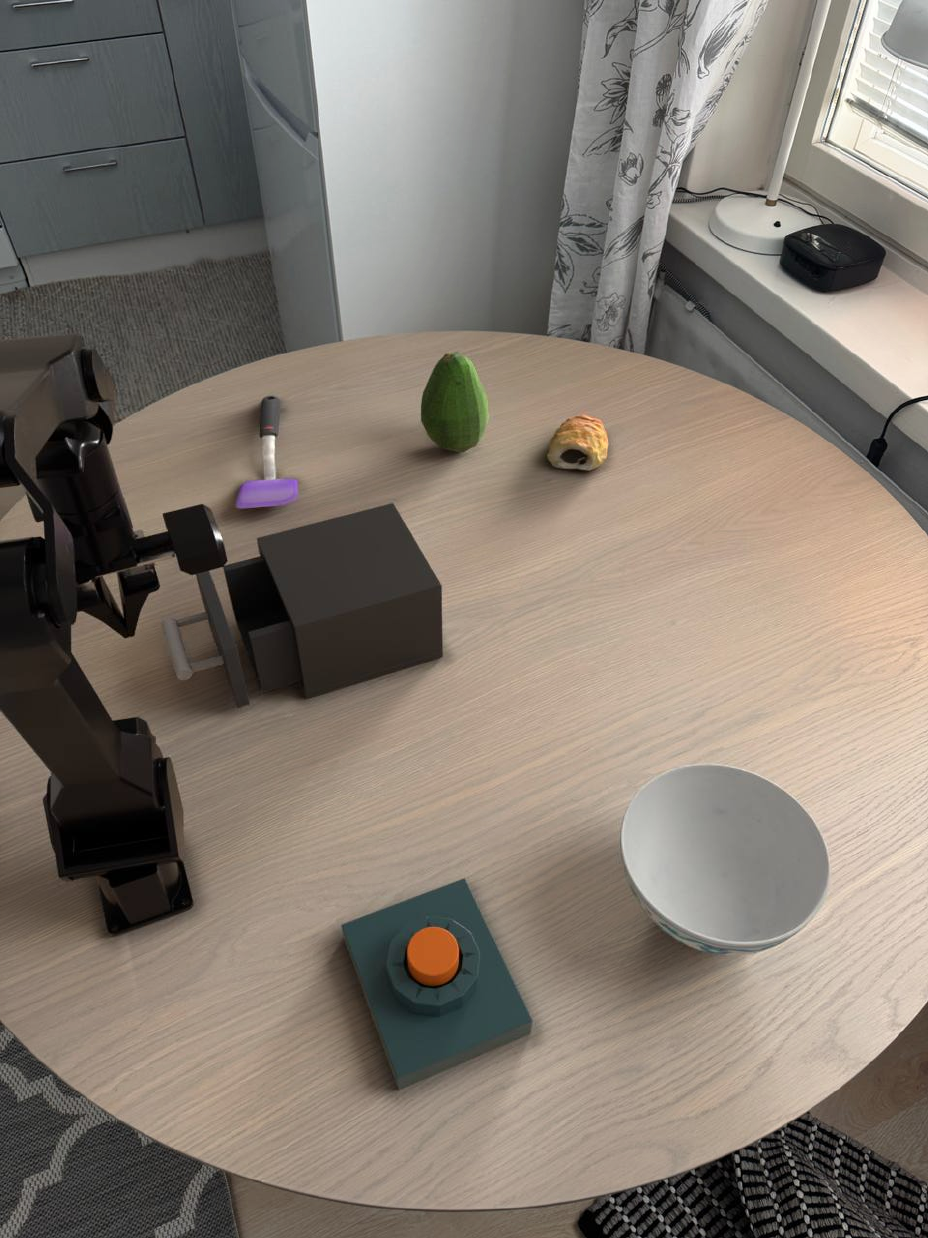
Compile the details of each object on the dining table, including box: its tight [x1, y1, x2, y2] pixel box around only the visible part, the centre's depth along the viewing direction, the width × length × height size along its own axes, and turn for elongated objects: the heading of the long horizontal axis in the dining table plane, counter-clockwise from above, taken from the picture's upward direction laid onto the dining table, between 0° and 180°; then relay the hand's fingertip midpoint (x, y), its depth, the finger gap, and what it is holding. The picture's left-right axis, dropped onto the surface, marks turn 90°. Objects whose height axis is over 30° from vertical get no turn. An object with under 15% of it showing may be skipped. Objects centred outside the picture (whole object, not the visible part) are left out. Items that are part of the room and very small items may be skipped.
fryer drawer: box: [160, 555, 302, 709], centre depth 92 cm, size 17×11×8 cm
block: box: [341, 877, 533, 1091], centre depth 71 cm, size 12×10×4 cm
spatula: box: [234, 395, 299, 510], centre depth 117 cm, size 24×7×2 cm, turn 6°
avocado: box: [420, 351, 490, 453], centre depth 115 cm, size 8×8×12 cm
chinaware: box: [619, 763, 832, 956], centre depth 75 cm, size 15×15×8 cm
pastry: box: [546, 414, 610, 471], centre depth 118 cm, size 9×7×4 cm
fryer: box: [256, 502, 444, 700], centre depth 94 cm, size 14×13×10 cm
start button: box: [407, 927, 459, 986], centre depth 70 cm, size 4×4×2 cm
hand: (128, 634), depth 86 cm, fingers closed
